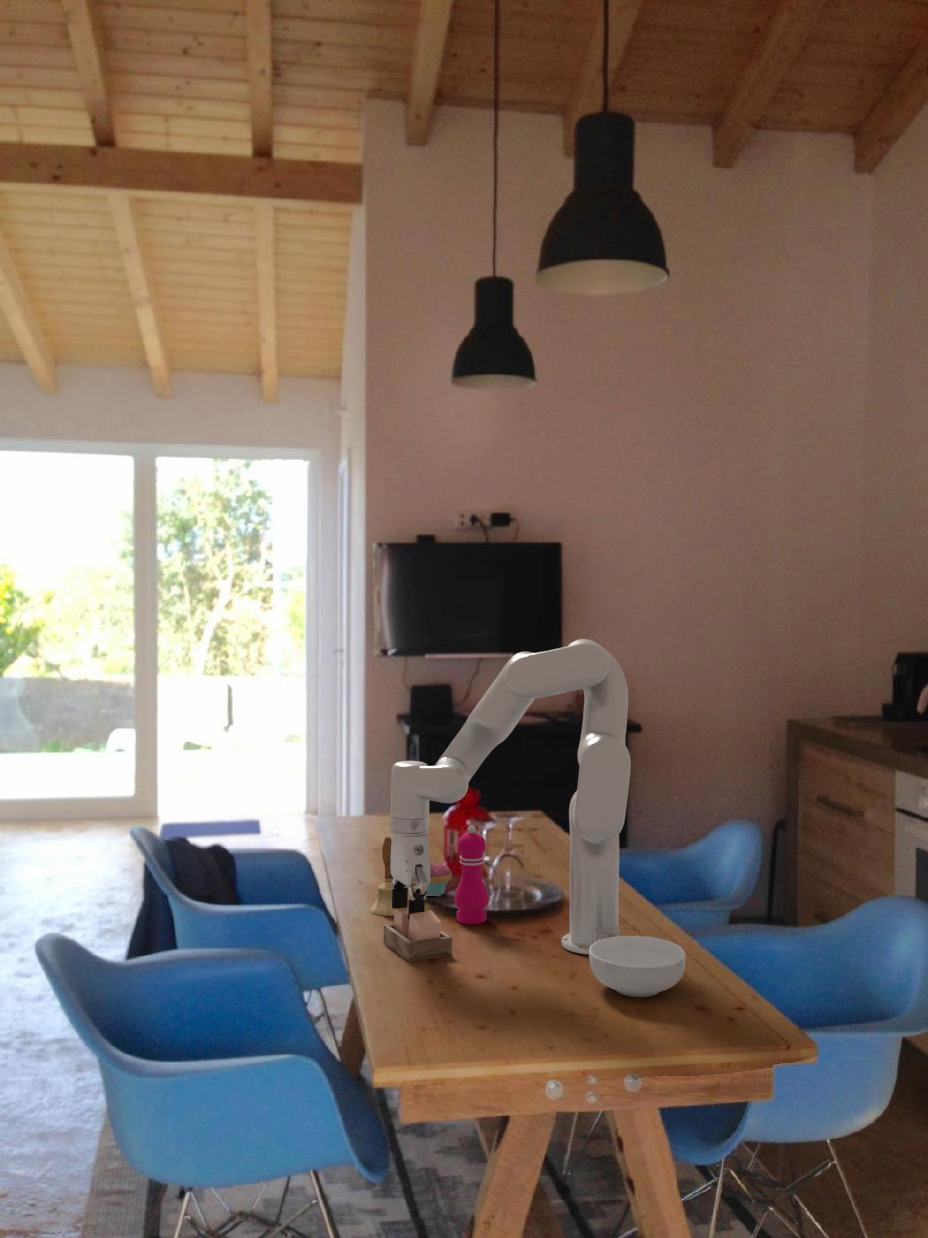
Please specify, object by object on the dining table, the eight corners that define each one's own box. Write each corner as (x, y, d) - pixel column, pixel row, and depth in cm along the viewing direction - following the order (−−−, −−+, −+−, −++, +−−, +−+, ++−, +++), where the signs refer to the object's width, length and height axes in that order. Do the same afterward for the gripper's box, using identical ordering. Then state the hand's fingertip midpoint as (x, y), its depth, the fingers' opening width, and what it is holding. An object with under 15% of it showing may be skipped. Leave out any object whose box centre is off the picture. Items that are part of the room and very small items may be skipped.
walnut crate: (451, 955, 228) (451, 937, 228) (409, 962, 225) (409, 943, 224) (424, 937, 240) (424, 919, 240) (383, 942, 236) (383, 925, 236)
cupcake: (408, 897, 270) (408, 844, 269) (423, 887, 278) (423, 836, 277) (443, 901, 266) (443, 847, 266) (457, 891, 274) (458, 839, 274)
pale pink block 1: (423, 943, 234) (423, 912, 233) (401, 945, 232) (401, 915, 232) (415, 936, 238) (415, 906, 237) (394, 939, 236) (394, 909, 236)
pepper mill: (485, 926, 247) (485, 830, 247) (451, 924, 249) (451, 828, 248) (491, 916, 255) (491, 822, 254) (458, 914, 256) (458, 821, 255)
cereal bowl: (570, 983, 213) (570, 943, 213) (644, 968, 222) (644, 930, 221) (628, 1013, 199) (628, 971, 198) (705, 996, 207) (706, 955, 206)
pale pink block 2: (438, 950, 229) (441, 922, 227) (417, 954, 227) (419, 925, 225) (428, 938, 233) (431, 910, 231) (407, 942, 231) (410, 914, 229)
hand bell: (379, 918, 253) (378, 843, 253) (363, 908, 261) (363, 835, 260) (414, 913, 257) (414, 839, 256) (398, 903, 264) (398, 831, 264)
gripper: (445, 832, 228) (443, 924, 229) (410, 815, 244) (408, 900, 244) (408, 835, 225) (407, 928, 225) (375, 817, 240) (374, 904, 241)
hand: (407, 913), depth 235 cm, fingers open, 7 cm apart
